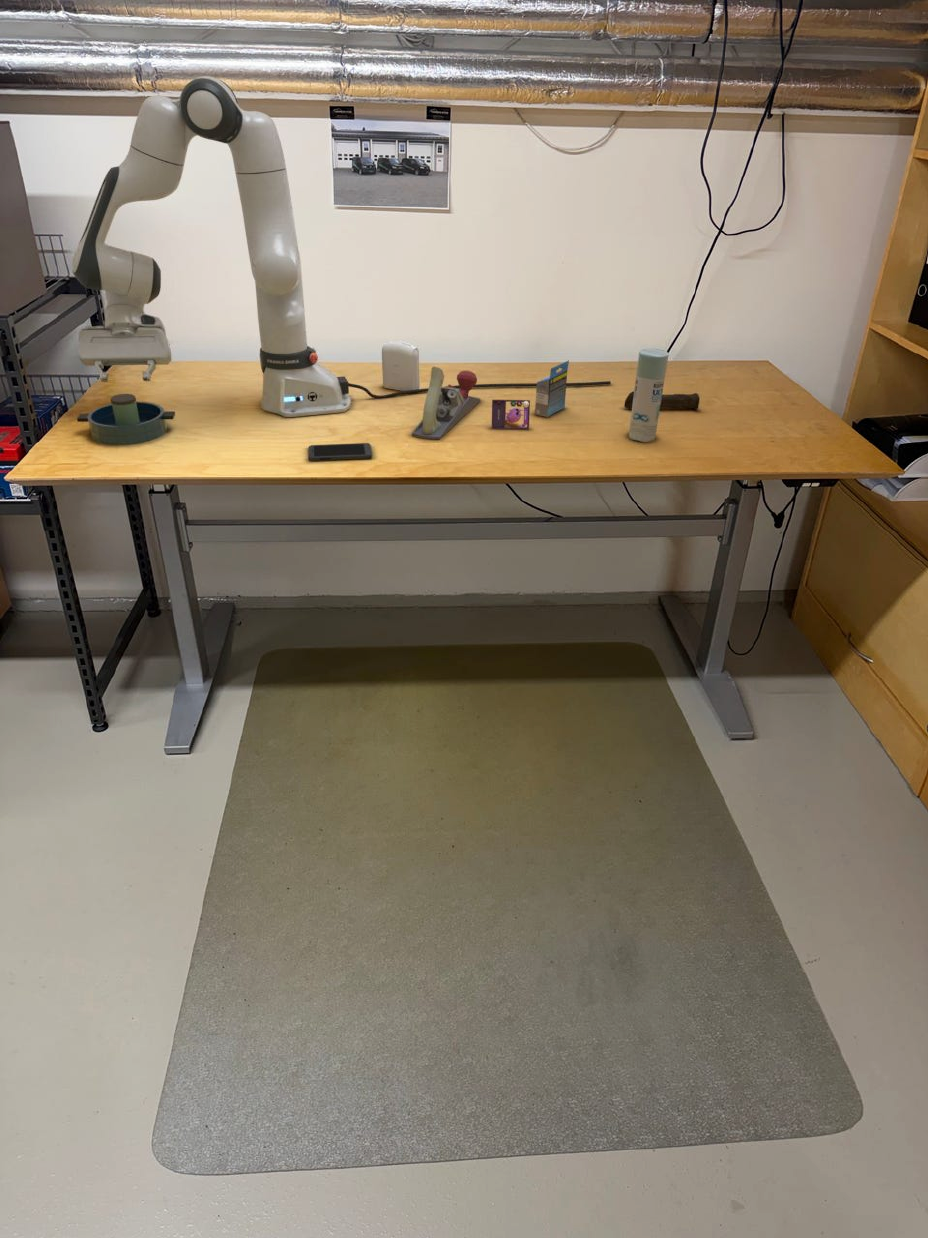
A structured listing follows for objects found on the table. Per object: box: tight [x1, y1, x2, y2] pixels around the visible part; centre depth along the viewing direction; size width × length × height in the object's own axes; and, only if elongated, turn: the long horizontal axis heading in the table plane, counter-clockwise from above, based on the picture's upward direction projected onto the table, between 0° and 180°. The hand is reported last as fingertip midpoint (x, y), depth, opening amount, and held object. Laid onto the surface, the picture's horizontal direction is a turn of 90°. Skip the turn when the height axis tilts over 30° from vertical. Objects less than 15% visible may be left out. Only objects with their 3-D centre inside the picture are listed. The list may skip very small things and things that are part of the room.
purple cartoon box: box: [491, 399, 531, 430], centre depth 207 cm, size 7×5×9 cm
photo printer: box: [381, 340, 421, 392], centre depth 226 cm, size 10×4×12 cm, turn 63°
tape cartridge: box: [534, 360, 570, 418], centre depth 214 cm, size 9×4×12 cm, turn 145°
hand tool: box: [623, 390, 700, 411], centre depth 220 cm, size 19×4×5 cm, turn 92°
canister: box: [109, 393, 140, 426], centre depth 197 cm, size 5×5×8 cm
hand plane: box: [411, 366, 481, 440], centre depth 208 cm, size 7×31×15 cm, turn 160°
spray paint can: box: [628, 348, 669, 443], centre depth 198 cm, size 6×6×20 cm
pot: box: [87, 400, 168, 446], centre depth 198 cm, size 17×17×4 cm
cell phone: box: [307, 442, 373, 462], centre depth 191 cm, size 7×14×1 cm, turn 99°
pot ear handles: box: [76, 410, 176, 423], centre depth 197 cm, size 21×3×1 cm, turn 98°
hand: (125, 380), depth 199 cm, fingers open, 8 cm apart
